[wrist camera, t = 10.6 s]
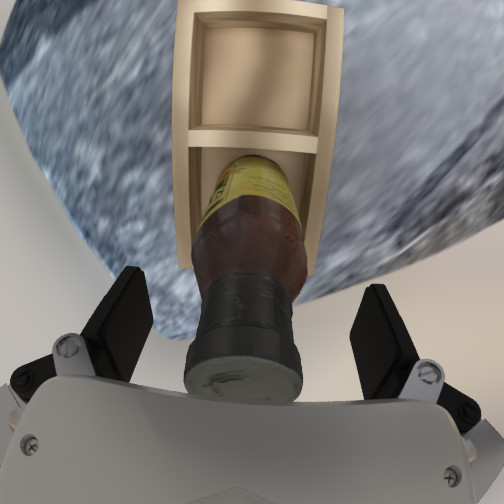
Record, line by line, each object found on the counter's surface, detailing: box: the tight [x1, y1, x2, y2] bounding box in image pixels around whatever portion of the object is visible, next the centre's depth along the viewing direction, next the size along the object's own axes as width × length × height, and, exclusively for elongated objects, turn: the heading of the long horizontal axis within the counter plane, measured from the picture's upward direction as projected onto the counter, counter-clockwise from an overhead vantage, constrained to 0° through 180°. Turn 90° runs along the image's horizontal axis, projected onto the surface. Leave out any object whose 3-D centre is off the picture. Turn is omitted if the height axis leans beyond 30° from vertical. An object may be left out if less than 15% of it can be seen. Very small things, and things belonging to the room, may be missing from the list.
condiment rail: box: [172, 0, 344, 276], centre depth 21 cm, size 11×22×6 cm, turn 177°
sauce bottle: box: [184, 155, 308, 402], centre depth 17 cm, size 6×6×20 cm
